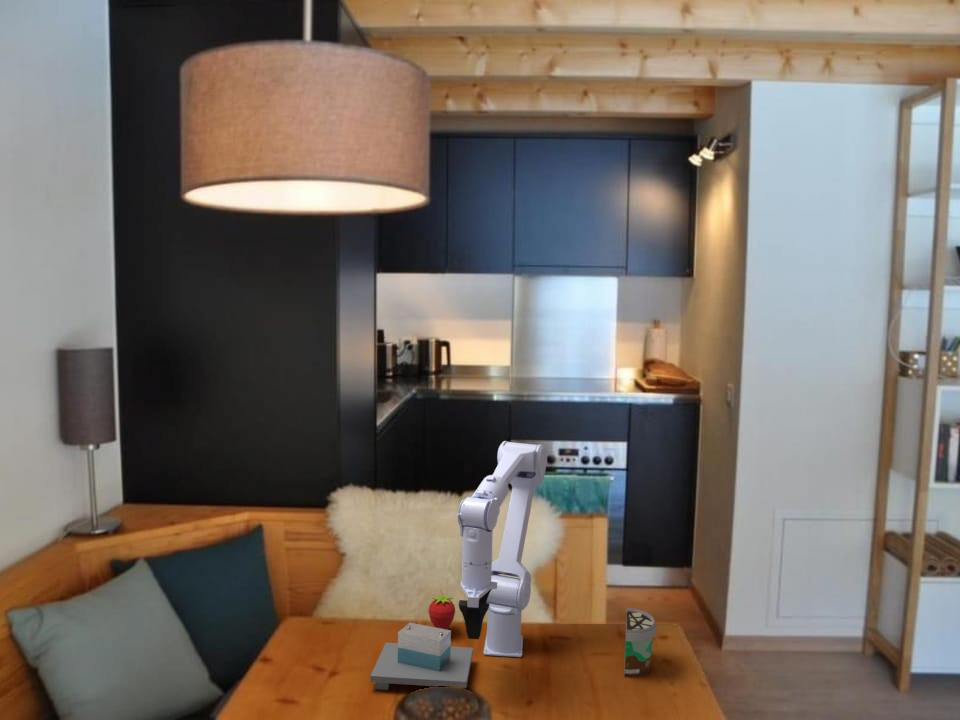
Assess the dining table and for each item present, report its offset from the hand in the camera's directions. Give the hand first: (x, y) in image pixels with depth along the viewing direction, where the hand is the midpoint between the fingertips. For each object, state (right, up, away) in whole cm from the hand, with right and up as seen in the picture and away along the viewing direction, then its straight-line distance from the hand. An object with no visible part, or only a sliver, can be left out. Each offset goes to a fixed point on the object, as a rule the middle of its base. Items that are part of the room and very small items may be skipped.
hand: (475, 629), depth 142 cm
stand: (-10, -10, +2) cm, 14 cm away
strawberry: (-8, -9, +21) cm, 24 cm away
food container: (+33, -11, +8) cm, 36 cm away
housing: (-10, -7, +2) cm, 12 cm away
